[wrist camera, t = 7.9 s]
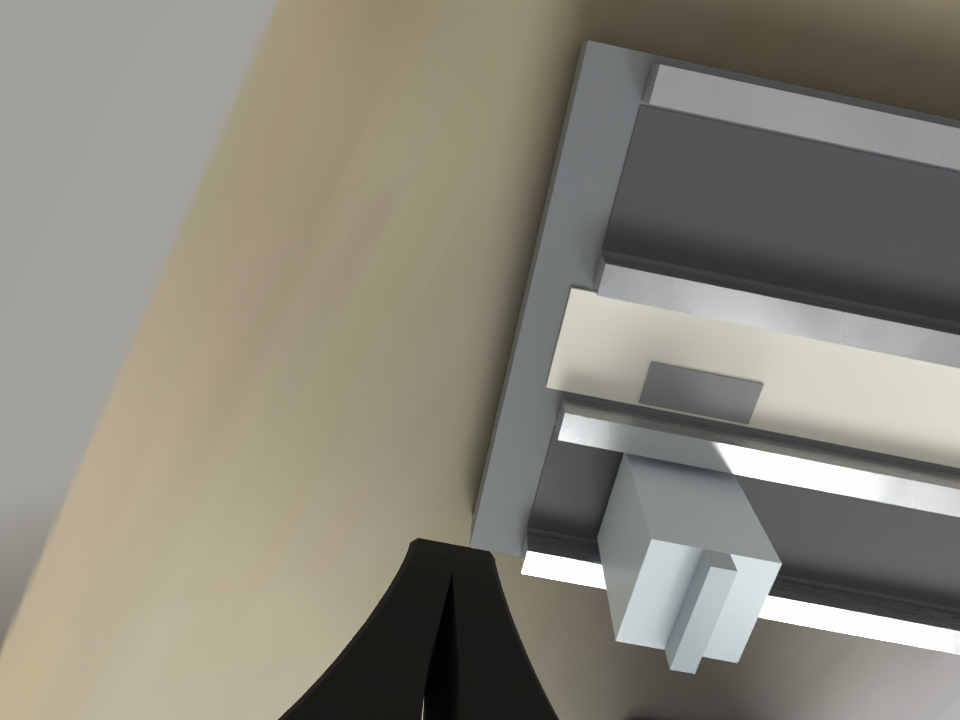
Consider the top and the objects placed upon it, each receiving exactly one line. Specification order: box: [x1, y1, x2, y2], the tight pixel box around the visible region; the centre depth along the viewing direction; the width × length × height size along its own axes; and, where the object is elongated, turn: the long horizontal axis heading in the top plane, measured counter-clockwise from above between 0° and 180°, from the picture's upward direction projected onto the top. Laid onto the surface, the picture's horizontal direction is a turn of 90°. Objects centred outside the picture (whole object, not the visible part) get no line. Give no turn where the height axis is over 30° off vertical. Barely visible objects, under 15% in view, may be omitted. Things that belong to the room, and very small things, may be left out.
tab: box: [597, 453, 782, 674], centre depth 18 cm, size 3×3×5 cm
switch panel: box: [470, 40, 960, 654], centre depth 19 cm, size 14×22×2 cm, turn 79°
